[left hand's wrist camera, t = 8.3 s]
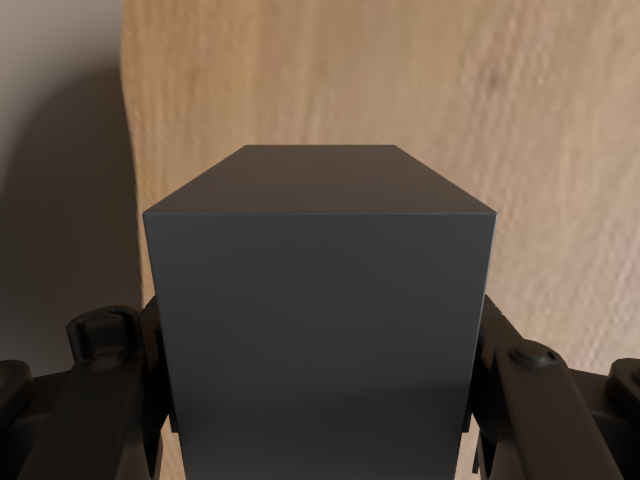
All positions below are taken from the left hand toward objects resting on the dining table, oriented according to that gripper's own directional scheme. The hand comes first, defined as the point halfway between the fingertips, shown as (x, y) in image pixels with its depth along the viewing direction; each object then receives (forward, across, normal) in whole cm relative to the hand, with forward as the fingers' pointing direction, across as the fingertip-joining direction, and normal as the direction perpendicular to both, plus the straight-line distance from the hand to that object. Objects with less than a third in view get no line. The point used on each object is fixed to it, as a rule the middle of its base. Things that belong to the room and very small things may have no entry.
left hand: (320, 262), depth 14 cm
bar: (+1, 0, -9) cm, 9 cm away
